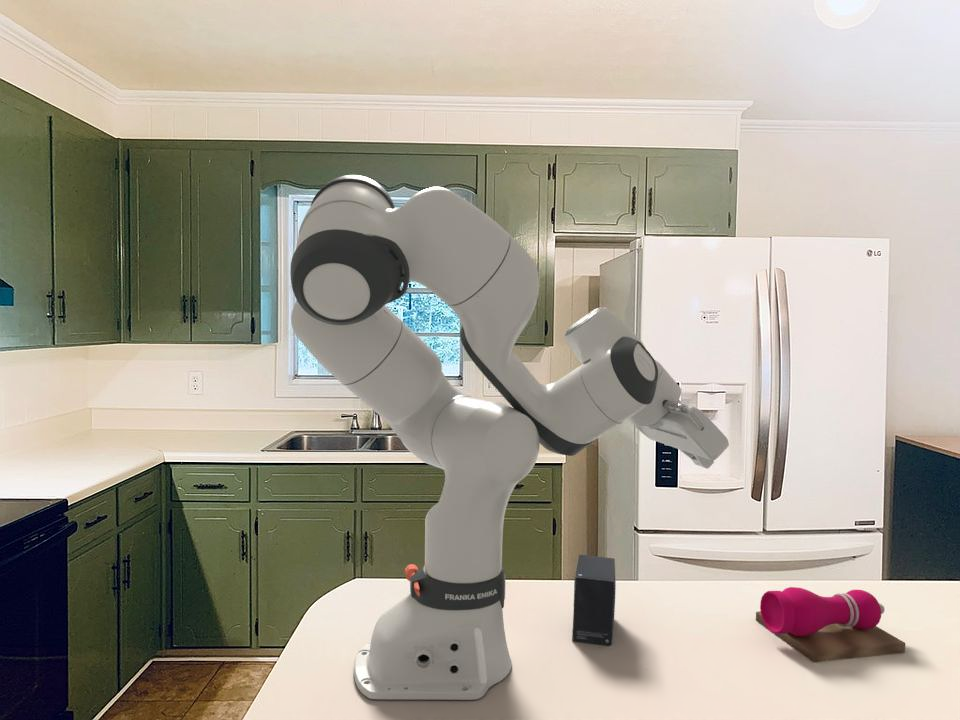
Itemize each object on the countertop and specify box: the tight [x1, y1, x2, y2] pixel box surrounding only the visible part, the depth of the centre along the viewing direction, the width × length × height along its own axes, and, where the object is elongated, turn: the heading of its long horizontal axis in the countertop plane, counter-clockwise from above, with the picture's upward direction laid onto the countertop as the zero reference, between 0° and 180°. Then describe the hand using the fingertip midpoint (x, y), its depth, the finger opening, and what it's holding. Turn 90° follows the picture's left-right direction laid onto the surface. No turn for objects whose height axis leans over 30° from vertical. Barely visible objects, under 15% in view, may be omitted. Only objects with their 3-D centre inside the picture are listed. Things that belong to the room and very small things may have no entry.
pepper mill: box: [759, 586, 885, 636], centre depth 107 cm, size 7×7×20 cm
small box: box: [571, 554, 617, 646], centre depth 110 cm, size 11×6×10 cm, turn 168°
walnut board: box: [755, 610, 906, 663], centre depth 109 cm, size 16×14×2 cm
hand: (705, 463), depth 103 cm, fingers closed
